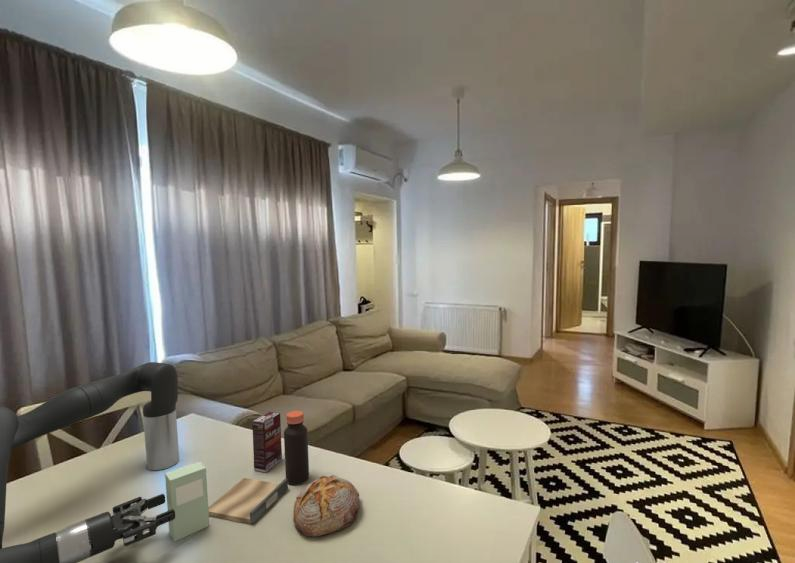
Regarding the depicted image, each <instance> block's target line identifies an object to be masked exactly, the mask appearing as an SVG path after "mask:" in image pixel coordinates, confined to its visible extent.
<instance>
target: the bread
mask: <svg viewBox="0 0 795 563" xmlns="http://www.w3.org/2000/svg"><path fill="white" fill-rule="evenodd" d="M359 498H360V493H359V491H358V490H357V488H356V486H355V485H354V484H353V483H352V482H351V481H349V480H347V479H345V478H341V477H339V476H336V475H334V474H333V475H330V476H325V475H322V476H320V477H319V478H317V479H315V480H313V481H312V482H310V483H309V484H307V485H306V486H304V487H303V488H302V490H300V492H299V494H297V496H296V498H295V499H296V500H295V501H294V504H293V519H292V521H293V523H294V525H295V527H296V528H297V529H298V530H299V531H300V532H302V534H303V535H304V536H307V537H321V536H324V535H325V536H326V535H328V534H331V533H333V532H337V531H339V530H342V529H344V528H346V527H348V526H350V524H353V523H354V521H355V519H356V517H357V515H358V513H359V510H360V499H359Z"/></svg>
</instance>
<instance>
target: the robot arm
mask: <svg viewBox="0 0 795 563" xmlns="http://www.w3.org/2000/svg"><path fill="white" fill-rule="evenodd" d="M178 379H179V378H178V372H177V369H176V368H175V366H174V365H172V364H170V363H167V362H166V363H164V362H156V361H152V362H151V361H150V362H146V363H143V364H140V365H138V366H135V367H134V368H131V369H129V370H127V371H124V372H122V373H120V374H119V373H118V374H117V375H112V376H108V377H104V378H101V379H98V380H96V381H95V380H94V381H90V382H87V383H85V384H81V385H78V386H77V385H76V386H74V387H71V388H69V389H66V390H64V391H62V392H59V393H58V394H57V395H55V396H53V397H52V398H50V399H49V400H47V401H44V402H43V403H42V404H40V405H39V406H37V407H35V408H33V409H31V410H30V411H28V412H26V413H22V414H20V415H17V414H16V412H14V411H13V410H12V409H10V408H8V407H5V406H0V563H80V562H83V561H86V560H87V559H89V558H91V557H94V556H97V555H99V554H101V553H104V552H106V551H108V550H110V549H113V547H115V545H116V543H115V542H116V541H117V540H123V546H124V547H127V546H132V545H134V544H135V543H138V542H141V541H142V540H143V541H144V540H145V539H148V538H151V537H153V536H154V535H156V534H157V529H158V527H159V526H162V525H164V524H165V525H166V524H167V523H169V521H172V520H174V519H175V511H174V509H171V510H169V511H168V510H167V511H164V512H162V513H160V514H157V515H155V516H149V517H147V516H146V515H142V514H144V513H145V512H146V511H147V510H151V509H154V508H155V507H156V508H157V507H159V506H161V505H164V504H165V503H166V494H164V493H161V494H158V495H156V496H153V497H150V498H143V497H142V496H138V497H135V498H132V499H131V500H128V501H125V502H122V503H120V504H118V505H114V506H113V507H112V509H111V510H112V514H111V513H110V512H109V511H105V512H102V513H100V514H96V515H94V516H91V517H89V518H86V519H84V520H81V521H78V522H74V523H73V524H70V525H68V526H66V527H64V528H61V529H60V530H57V531H55V532H52V533H49V534H47V535H44V536H42V537H39V538H37V539H33V540H32V541H28V542H26V543H21V544H16V545H15V544H14V545H10V546H6V547H3V539H4V532H5V521H6V520H5V519H6V501H7V500H6V499H7V482H8V481H7V480H8V471H9V470H8V469H9V464H10V463H9V462H10V458H11V453H12V452H11V451H12V450H14V449H16V448H18V447H21V446H22V445H24V444H26V443H29V442H31V441H33V440H36V439H38V438H40V437H43V436H45V435H47V434H51V433H53V432H55V431H58V430H61V429H63V428H66V427H69V426H71V425H74V424H76V423H79V422H82V421H85V420H88V419H90V418H93V417H94V416H98V415H100V414H102V413H104V412H106V411H107V410H109V409H111V408H112V406H114V405H115V404H116V403H117V402H118V401H120V400H122V399H123V398H125V397H127V396H131V395H134V394H137V393H141V392H142V393H143V392H150V401H149V402H147V403H146V404H144V405H143V407H142V418H143V430H144V433H143V434H144V442H145V444H144V445H145V457H146V458H145V459H146V469H147V470H150V471H160V470H162V471H163V470H164V469H165V470H166V469H168V468H171V467H173V466H175V465H176V464H178V463H179V461H180V450H179V437H178V434H179V433H178V423H177V422H178V418H177V408H176V407H177V406H176V405H177V402H178V400H179V395H178V394H179V389H178V387H179V380H178ZM147 531H148V532H147Z"/></svg>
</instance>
